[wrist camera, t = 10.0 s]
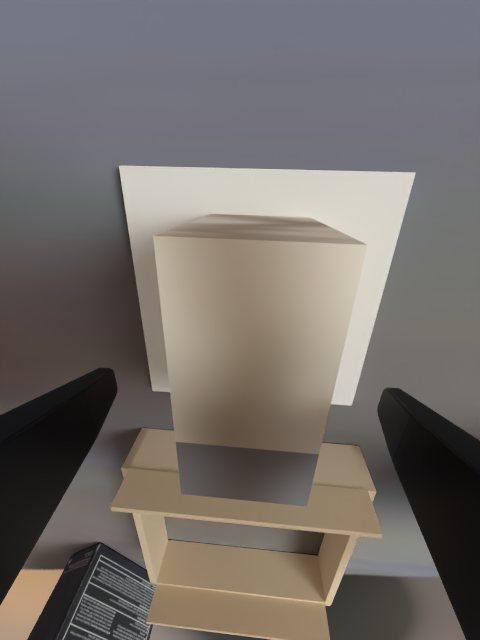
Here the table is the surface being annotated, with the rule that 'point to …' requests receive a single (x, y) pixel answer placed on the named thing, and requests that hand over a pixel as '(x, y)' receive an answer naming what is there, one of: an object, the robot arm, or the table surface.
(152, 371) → the white square tile
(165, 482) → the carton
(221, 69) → the table surface
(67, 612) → the small box
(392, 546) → the table surface
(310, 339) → the block
